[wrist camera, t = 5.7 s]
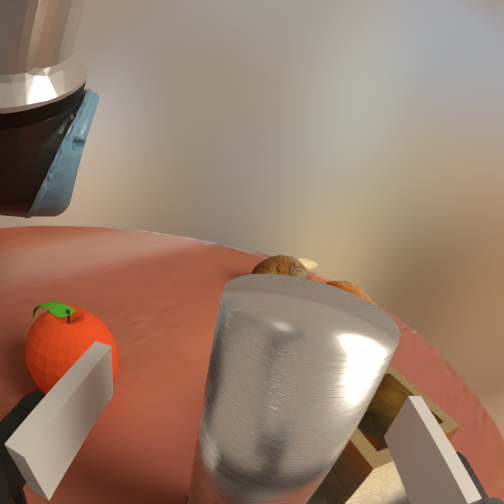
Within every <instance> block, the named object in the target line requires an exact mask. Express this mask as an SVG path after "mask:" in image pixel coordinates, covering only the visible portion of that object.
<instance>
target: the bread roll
mask: <svg viewBox="0 0 504 504" xmlns="http://www.w3.org/2000/svg"><path fill="white" fill-rule="evenodd" d="M252 274H279V275H288V276H294V277H300V278H305V279H309V280H311V278H310V275H309V272H308V271H307V269H306V268H305V266H304V265H303V264H302V263H301V262H299V261H298V260H297V259H295V258H293V257H288V256H283V255H278V256H273V257H270V258H268V259H266V260H264V261H262V262H261V263H259V264H258V265H257V266H256V267H255V268H254V269H253V272H252Z"/></svg>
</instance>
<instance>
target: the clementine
mask: <svg viewBox="0 0 504 504" xmlns="http://www.w3.org/2000/svg"><path fill="white" fill-rule="evenodd" d="M39 307H43V308H45V309H46V310H48V311H47V312H46V313H44V314H42V315H41V316H40V317H39V318H38V319H37V320H36V321H35V322H34V324H33V325H32V327H31V328H30V331H29V333H28V336H27V340H26V343H25V352H26V364H27V366H28V369H29V372H30V374H31V376H32V378H33V381H34V382H35V383H36V384H37V386H38V387H39V388H40V389H41V390H42V391H43V392H44V393H45V394H46V395H47V394H48V392H49V391H50V390H51V389H52V388H53V387H54V386H55V385H56V383H57V382H58V381H59V380H60V379H61V378H62V377H63V376H64V375H65V373H66V372H67V371H68V370H69V369H70V368H71V367H72V366H73V365H74V364H75V363H76V362H77V360H78V359H79V358H80V357H81V356H82V355H83V354H84V353H85V352H86V351H87V350H88V349H89V348H90V347H91V345H92V344H93V343H94V342H95V341H98V342H101V343H104V344H107V345H110V346H112V375H113V383H114V381H115V379H116V376H117V373H118V366H119V356H118V350H117V345H116V343H115V341H114V339H113V337H112V335H111V333H110V330H109V329H108V328H107V327H106V326H105V325H104V324H103V322H102V321H101V320H100V319H99V318H98V317H96V316H95V315H93V314H92V313H90V312H88V311H86V310H84V309H82V308H79V307H75V306H67V305H65V304H62V303H58V302H48V303H45V304H42V305H39V306H37V307H35V309H34V311H33V318H34V315H35V313H36V310H37V309H38V308H39Z"/></svg>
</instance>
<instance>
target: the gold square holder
mask: <svg viewBox="0 0 504 504" xmlns="http://www.w3.org/2000/svg"><path fill="white" fill-rule="evenodd" d="M408 396H421V397H422V399H423V400H424V402H425V403H426V405H427V406H428V408H429V410H430V411H431V413H432V414H433V416H434V417H435V419H436V421H437V422H438V424H439V425H440V427H441V429H442V430H443V432H444V434H445V435H446V437H447V439H448V440H450V439H451V438H452V436H453V435H454V433H455V432H456V431H457V429H458V428H459V426H460V425H459V424H458V423H456V422H455V421H454V420H453V419H452V418H451V417H450V416H448V415H447V414H446V413H445V412H444V411H443V410H442V409H440V408H439V407H438V406H437V405H436V404H435V403H434V402H432V401H431V400H430V399H429V398H428V397H427V396H426V395H424V394H423V393H422V392H421V391H420V390H419V389H418V388H416V387H415V386H414V385H413V384H412V383H411V382H410V381H408V380H407V379H406V378H405V377H404V376H403V375H402V374H400V373H399V372H398V371H397V370H396V369H395V368H393V367H392V366H391V365H388V368H387V370H386V372H385V374H384V376H383V378H382V380H381V382H380V384H379V386H378V388H377V390H376V392H375V394H374V396H373V398H372V400H371V402H370V404H369V406H368V408H367V410H366V412H365V413H364V415H363V417H362V419H361V421H360V422H359V424H358V426H357V428H356V429H355V431H354V433H353V435H352V436H351V438H350V440H349V441H348V443H347V445H346V446H345V448H344V449H343V451H342V453H341V454H340V456H339V457H338V459H337V460H336V462H335V463H334V465H333V467H332V468H331V470H330V471H329V472H328V474H327V475H326V477H325V478H324V480H323V481H322V483H321V484H320V485H319V487H318V488H317V490H316V491H315V492H314V494H313V495H312V496H311V498H310V499H309V500H308V502H307V503H306V504H410V502H409V499H408V497H407V494H406V491H405V489H404V486H403V483H402V481H401V478H400V476H399V473H398V471H397V468H396V466H395V463H394V461H393V458H392V456H391V453H390V451H389V448H388V446H387V443H386V441H385V438H384V436H385V434H386V432H387V431H388V429H389V428H390V426H391V424H392V423H393V421H394V420H395V418H396V416H397V415H398V413H399V411H400V410H401V408H402V406H403V404H404V403H405V401H406V399H407V397H408Z"/></svg>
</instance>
